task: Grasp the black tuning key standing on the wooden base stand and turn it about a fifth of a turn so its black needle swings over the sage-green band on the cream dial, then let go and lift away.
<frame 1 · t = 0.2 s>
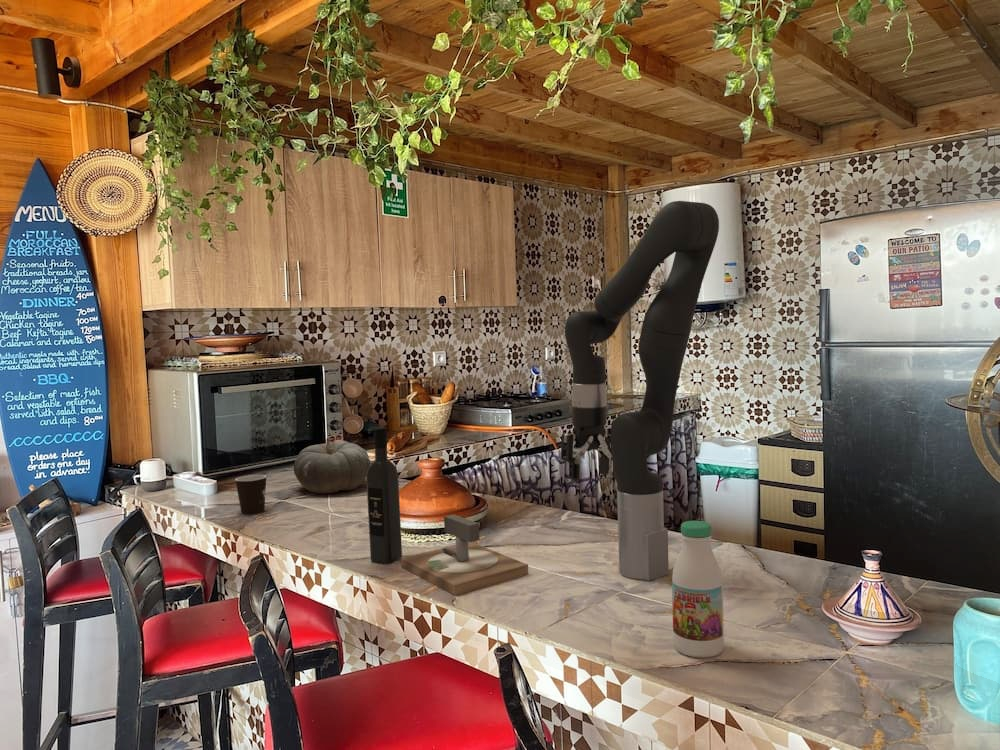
hand: (589, 477, 161), 18 cm above the counter, fingers open, 8 cm apart
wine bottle: (386, 560, 166), on the counter
milk bottle: (698, 649, 116), on the counter
wooden base stand: (463, 570, 157), on the counter
coffee mug: (256, 511, 217), on the counter
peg: (458, 538, 158), point 7 cm above the counter, hinge at 0.0°
gourd: (335, 489, 242), on the counter
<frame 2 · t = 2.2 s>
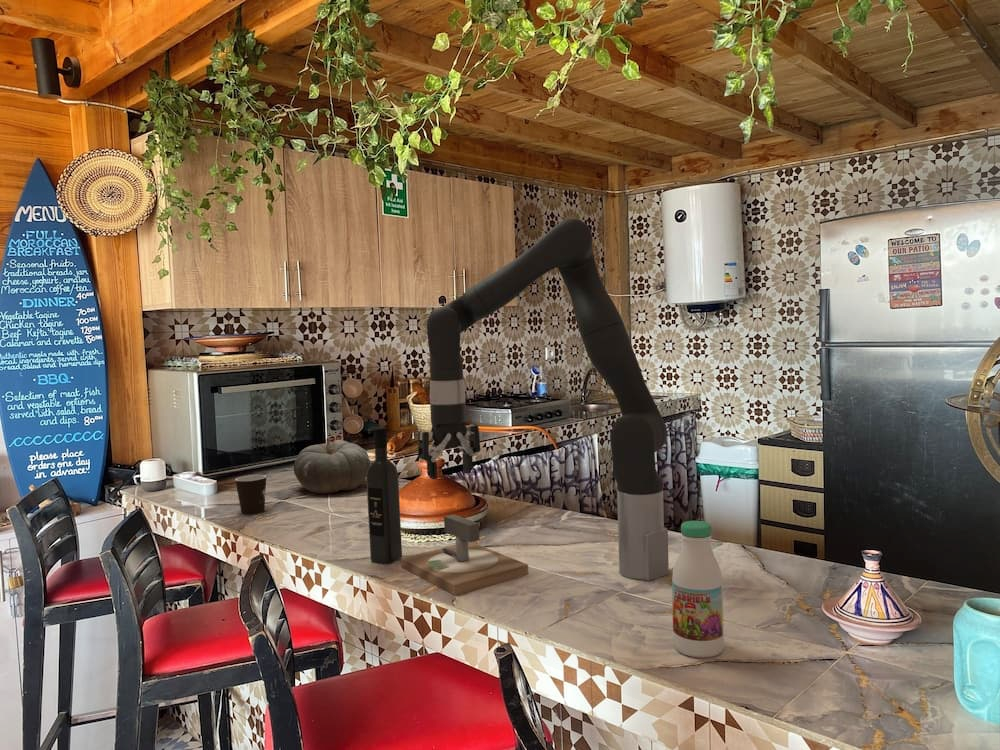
hand: (450, 475, 159), 20 cm above the counter, fingers open, 8 cm apart
nothing on the counter moved.
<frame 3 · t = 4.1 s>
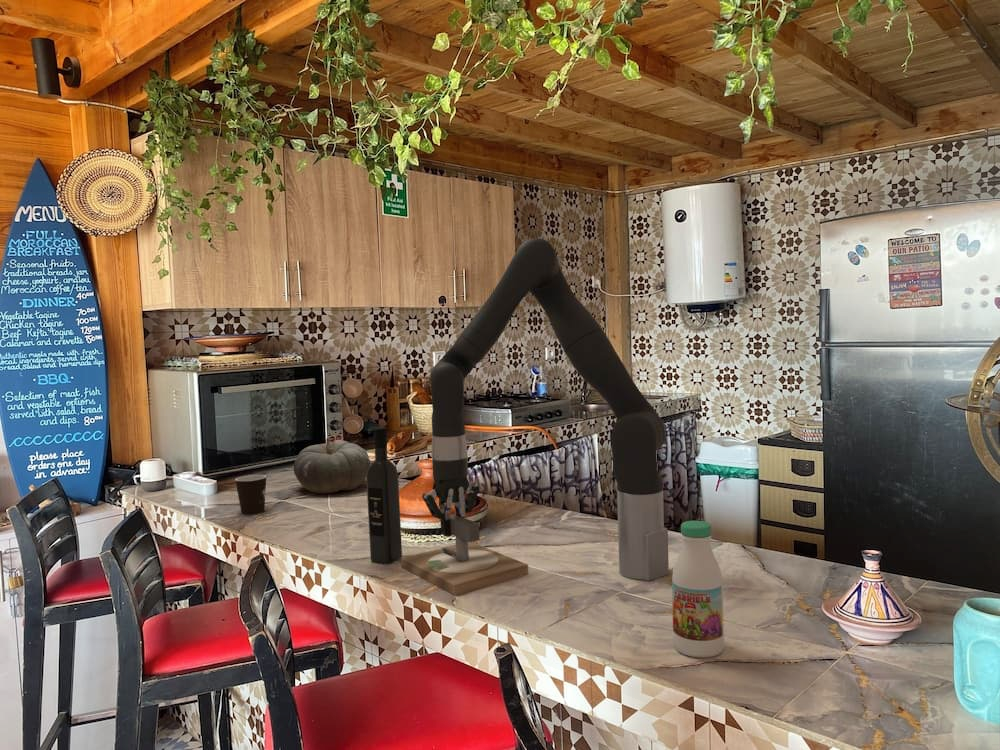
hand: (453, 534, 159), 7 cm above the counter, fingers closed on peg, 2 cm apart
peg: (458, 538, 158), point 7 cm above the counter, hinge at 0.0°, touching gripper
everything else where it was.
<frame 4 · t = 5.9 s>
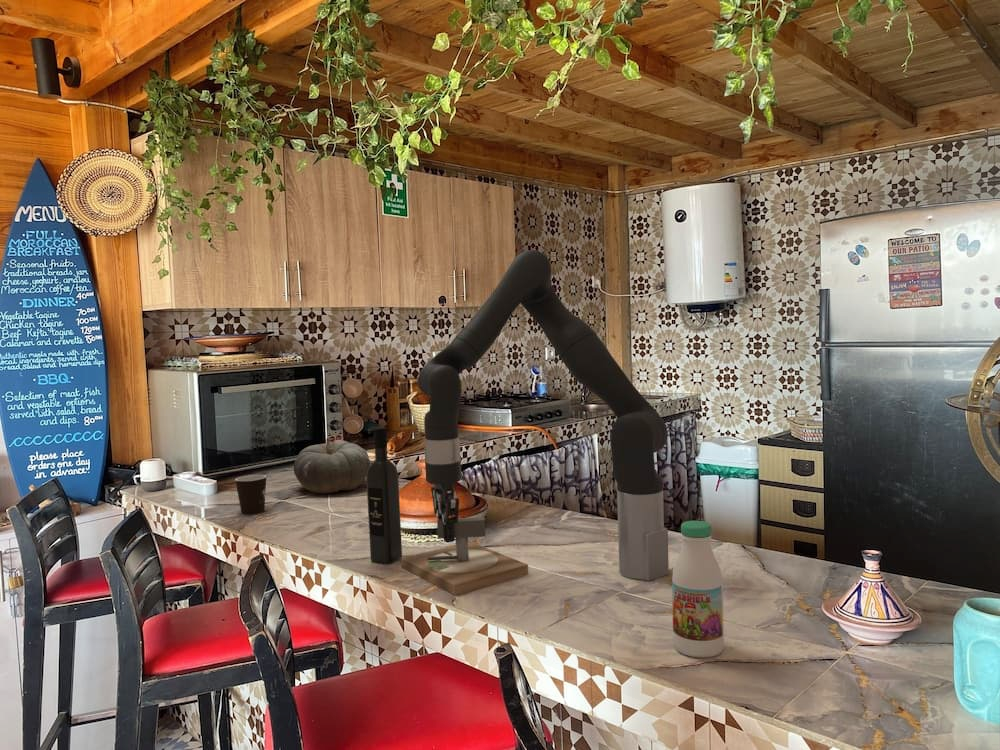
hand: (446, 538, 157), 7 cm above the counter, fingers closed on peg, 3 cm apart
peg: (456, 539, 157), point 7 cm above the counter, hinge at 55.9°, touching gripper
everything else where it was.
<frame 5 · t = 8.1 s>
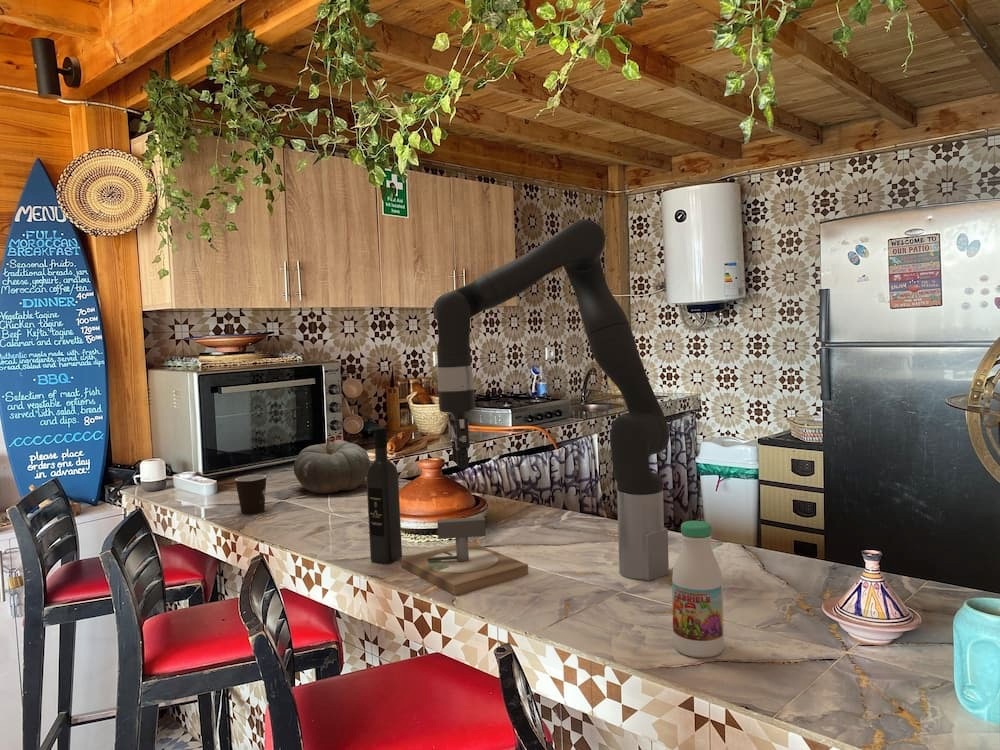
hand: (460, 464, 155), 23 cm above the counter, fingers open, 8 cm apart
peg: (456, 539, 156), point 7 cm above the counter, hinge at 59.2°
everything else where it was.
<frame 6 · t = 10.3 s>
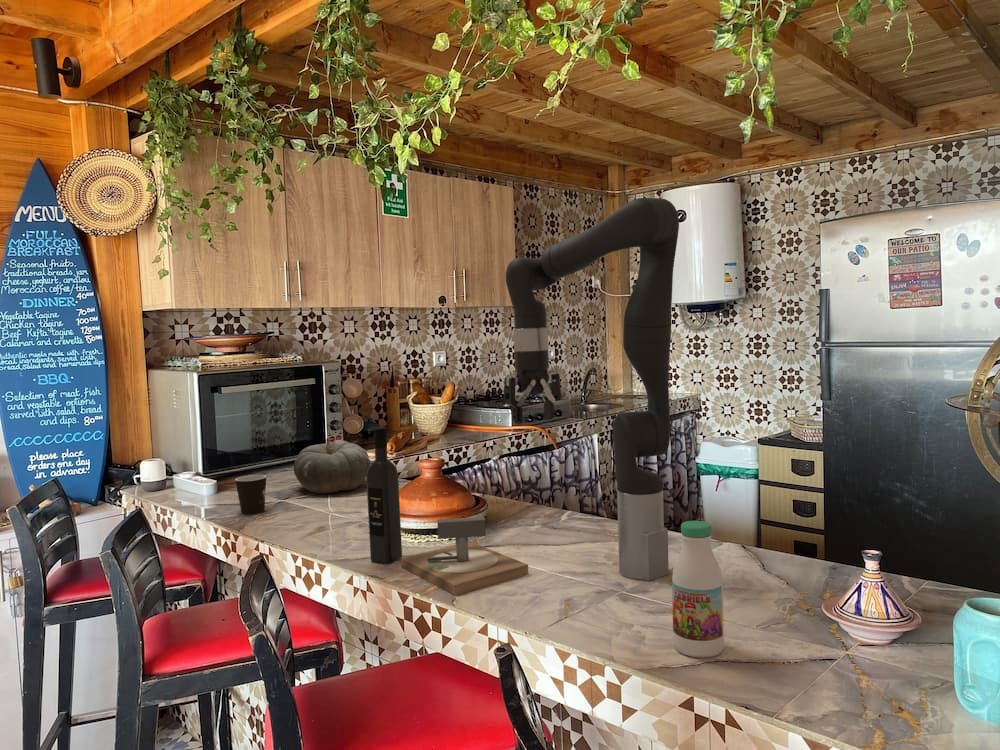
hand: (533, 421, 164), 30 cm above the counter, fingers open, 8 cm apart
nothing on the counter moved.
at the end: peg at +59° (first picture: +0°); the gripper is holding nothing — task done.
